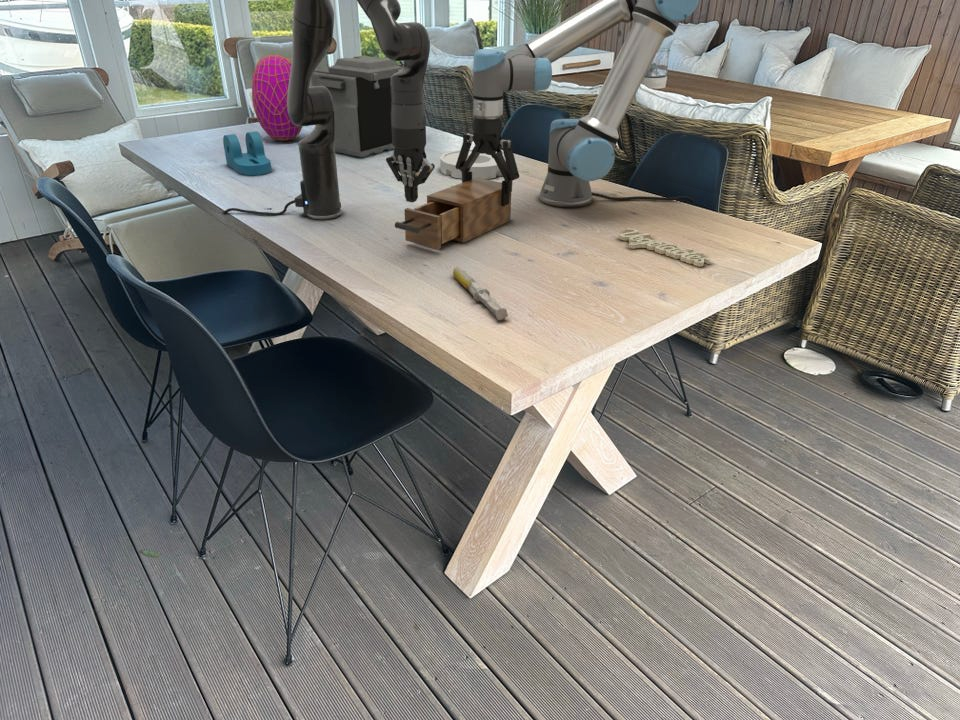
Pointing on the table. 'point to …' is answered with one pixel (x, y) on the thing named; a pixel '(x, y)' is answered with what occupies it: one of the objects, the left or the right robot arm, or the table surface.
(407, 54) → the left robot arm
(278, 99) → the decorative egg
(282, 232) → the table surface
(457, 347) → the table surface
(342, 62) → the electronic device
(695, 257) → the decorative sign
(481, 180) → the cabinet
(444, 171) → the ashtray
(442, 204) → the drawer
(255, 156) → the camera mount
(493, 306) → the syringe
